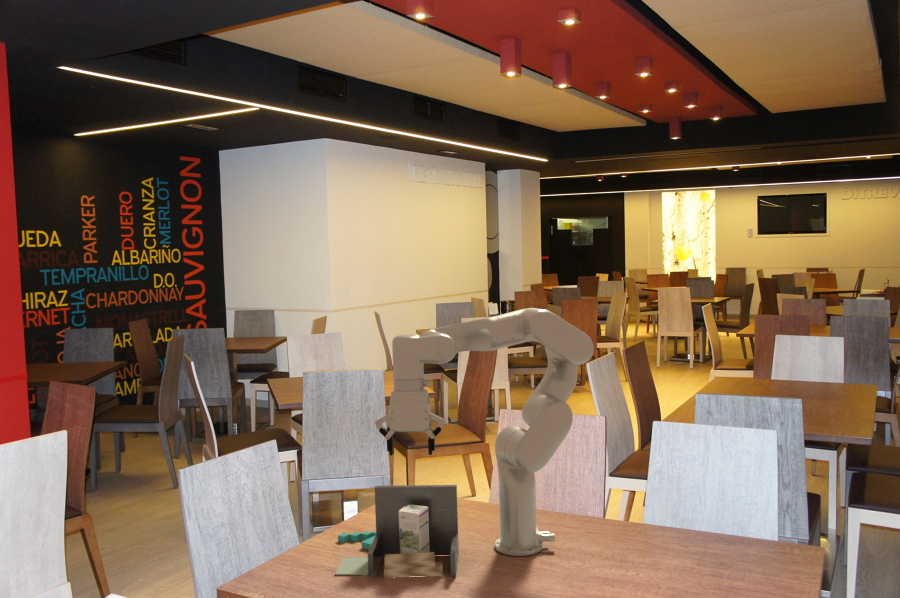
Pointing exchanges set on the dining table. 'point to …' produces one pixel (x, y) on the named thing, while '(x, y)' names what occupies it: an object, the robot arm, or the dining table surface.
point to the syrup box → (414, 529)
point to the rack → (440, 520)
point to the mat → (353, 566)
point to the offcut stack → (412, 565)
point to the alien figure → (358, 538)
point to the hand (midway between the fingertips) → (411, 453)
